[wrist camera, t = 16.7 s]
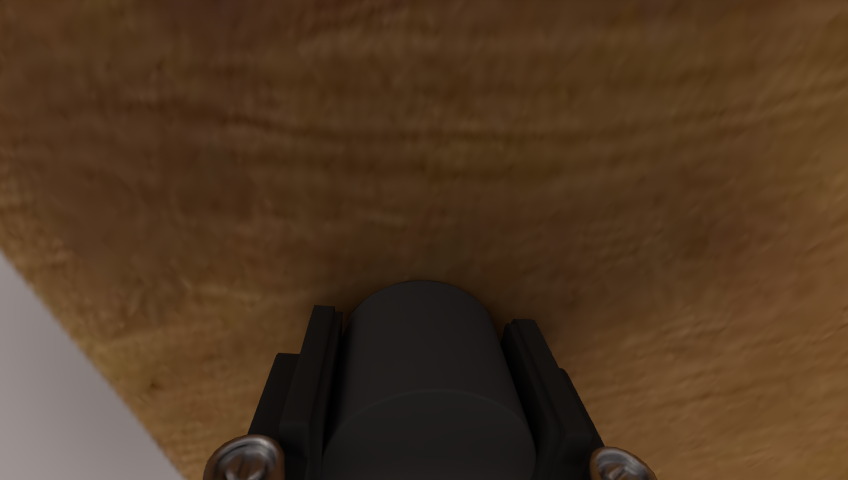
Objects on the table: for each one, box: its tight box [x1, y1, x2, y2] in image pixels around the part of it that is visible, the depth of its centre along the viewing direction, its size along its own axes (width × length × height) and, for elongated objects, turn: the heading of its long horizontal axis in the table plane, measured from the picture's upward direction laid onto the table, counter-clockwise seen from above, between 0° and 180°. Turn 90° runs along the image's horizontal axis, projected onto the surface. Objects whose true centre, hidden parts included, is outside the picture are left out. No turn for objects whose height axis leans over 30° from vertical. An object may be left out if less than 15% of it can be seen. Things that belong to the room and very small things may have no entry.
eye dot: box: [321, 281, 537, 480], centre depth 11 cm, size 4×4×4 cm
